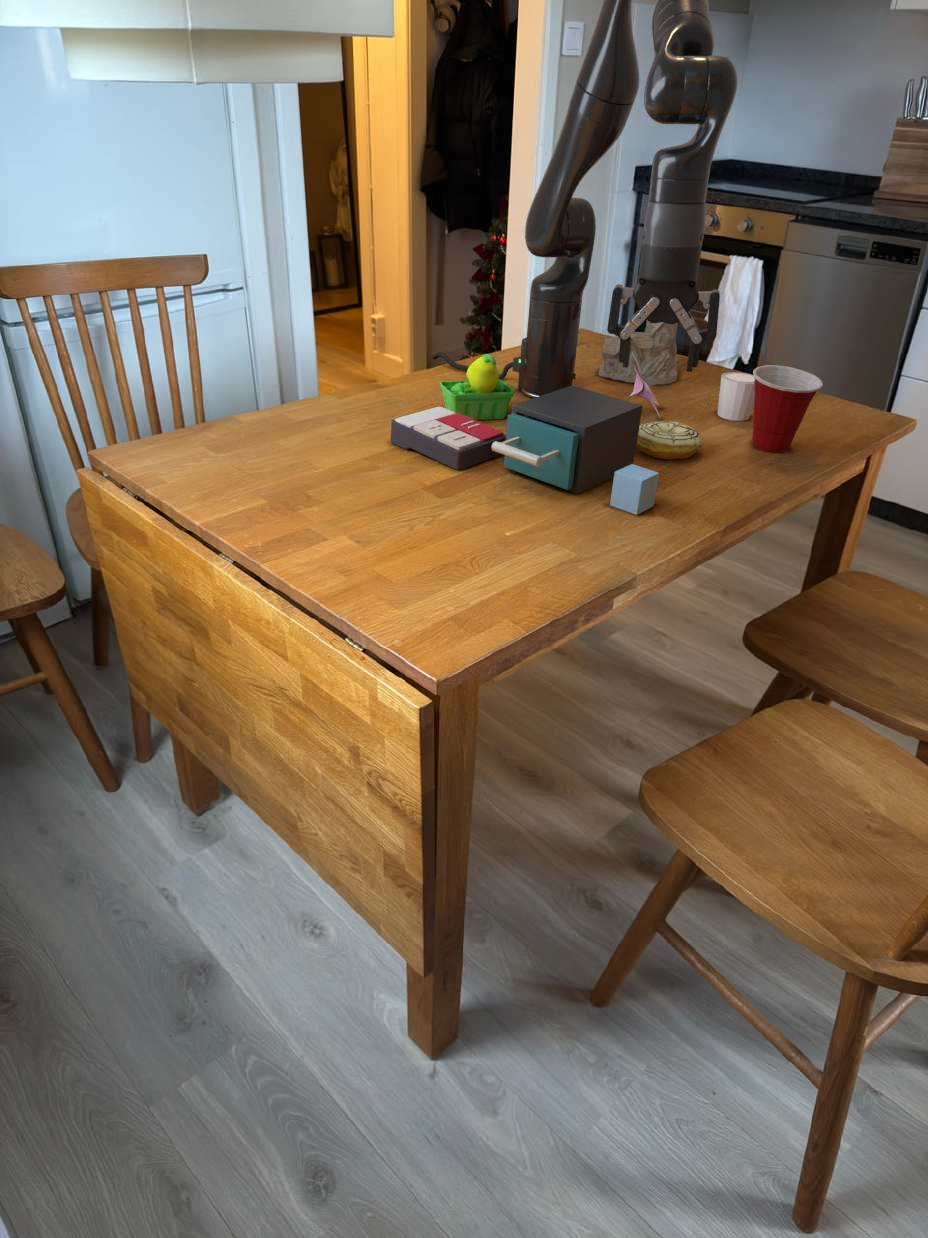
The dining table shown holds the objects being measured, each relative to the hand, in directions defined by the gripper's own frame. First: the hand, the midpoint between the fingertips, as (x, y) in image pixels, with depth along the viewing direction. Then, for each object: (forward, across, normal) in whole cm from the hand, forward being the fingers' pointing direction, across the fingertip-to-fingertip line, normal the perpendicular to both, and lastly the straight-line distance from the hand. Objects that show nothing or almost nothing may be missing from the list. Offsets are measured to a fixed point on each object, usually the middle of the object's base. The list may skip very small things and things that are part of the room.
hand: (657, 368), depth 122 cm
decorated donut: (+17, -3, -16) cm, 24 cm away
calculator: (+16, +31, -5) cm, 35 cm away
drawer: (+16, +13, +1) cm, 21 cm away
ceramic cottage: (+17, +4, -60) cm, 62 cm away
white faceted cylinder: (+18, -14, -39) cm, 45 cm away
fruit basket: (+16, +30, -22) cm, 40 cm away
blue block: (+17, +1, +8) cm, 19 cm away
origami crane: (+17, +2, -34) cm, 38 cm away
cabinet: (+17, +11, -3) cm, 20 cm away
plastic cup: (+18, -20, -24) cm, 36 cm away
